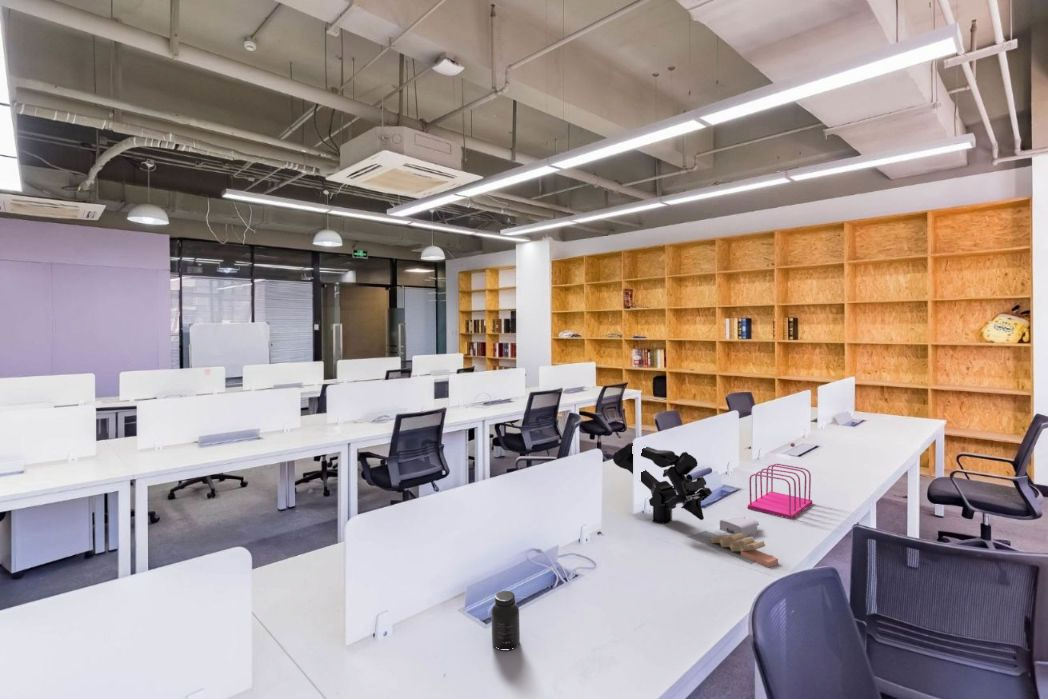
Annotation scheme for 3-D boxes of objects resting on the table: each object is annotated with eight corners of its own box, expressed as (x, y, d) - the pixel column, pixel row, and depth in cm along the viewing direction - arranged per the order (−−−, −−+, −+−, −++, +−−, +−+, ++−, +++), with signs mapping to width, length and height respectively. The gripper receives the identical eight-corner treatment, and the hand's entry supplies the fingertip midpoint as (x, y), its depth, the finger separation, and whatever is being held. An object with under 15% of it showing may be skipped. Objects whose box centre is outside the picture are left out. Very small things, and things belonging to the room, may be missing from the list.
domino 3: (729, 546, 176) (754, 544, 168) (739, 543, 179) (763, 540, 171) (731, 551, 175) (755, 549, 167) (740, 548, 178) (765, 546, 170)
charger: (767, 531, 194) (741, 540, 187) (745, 523, 202) (719, 531, 195) (767, 518, 194) (741, 527, 187) (745, 511, 202) (719, 519, 194)
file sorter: (747, 509, 218) (747, 472, 217) (770, 495, 235) (770, 460, 234) (791, 519, 205) (792, 480, 204) (812, 504, 223) (813, 467, 222)
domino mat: (687, 538, 189) (687, 536, 189) (705, 532, 194) (705, 530, 194) (751, 565, 166) (751, 564, 166) (770, 558, 172) (770, 556, 172)
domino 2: (719, 542, 179) (743, 540, 171) (729, 539, 182) (752, 536, 174) (721, 547, 179) (745, 545, 171) (731, 544, 181) (754, 541, 173)
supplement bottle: (491, 635, 131) (490, 589, 130) (518, 634, 131) (518, 587, 131) (492, 652, 124) (491, 603, 123) (520, 651, 124) (520, 601, 124)
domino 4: (740, 550, 172) (768, 562, 164) (750, 547, 175) (778, 558, 166) (740, 555, 172) (768, 567, 164) (750, 552, 175) (778, 563, 166)
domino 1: (710, 538, 183) (732, 536, 175) (719, 535, 185) (742, 533, 177) (711, 543, 182) (734, 541, 174) (721, 540, 185) (743, 537, 177)
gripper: (673, 474, 187) (697, 514, 178) (708, 466, 197) (733, 504, 188) (657, 489, 194) (679, 528, 186) (691, 481, 204) (714, 518, 195)
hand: (702, 519), depth 189 cm, fingers closed
